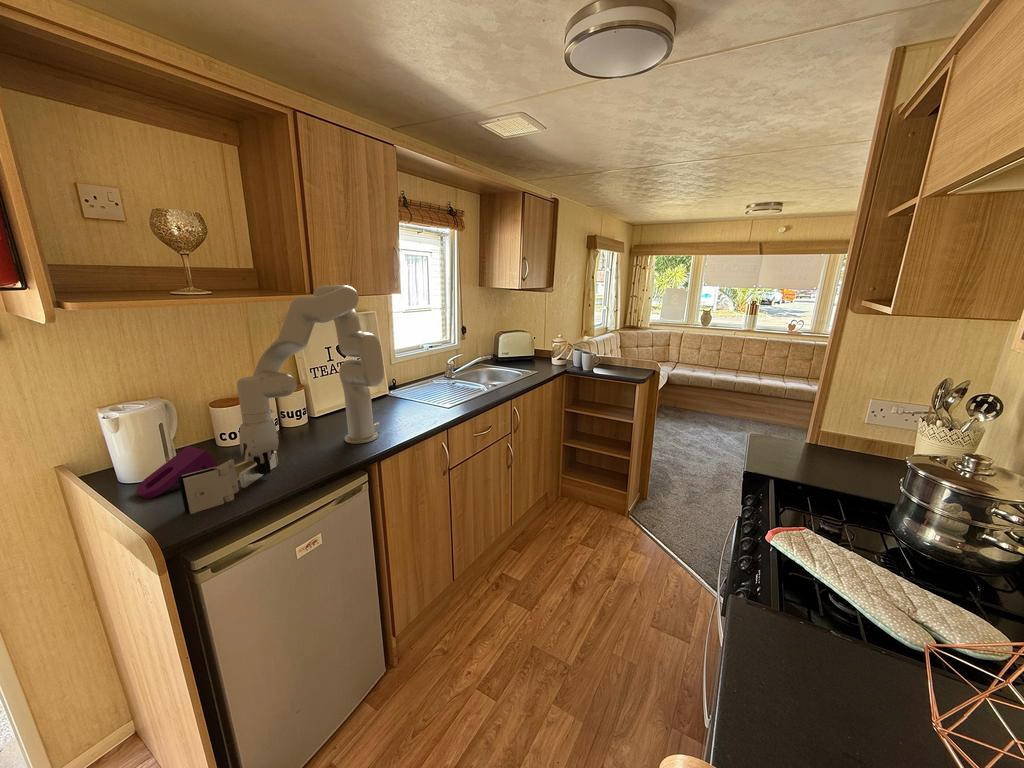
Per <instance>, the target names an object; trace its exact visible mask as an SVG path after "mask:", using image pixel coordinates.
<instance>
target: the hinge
mask: <svg viewBox="0 0 1024 768" xmlns="http://www.w3.org/2000/svg"><path fill="white" fill-rule="evenodd" d="M235 465H236V464H235V459H233V458H232V459H229V460H226V461H225V462H223V463H221V464H219V465H217V466H216V467H212V468H209V469H205V470H201V471H197V472H193V473H189V474H185V475H182V476H181V477H178V480H179V481H178V486H179V489H180V494H181V498H182V503H183V507H184V512H185V514H186V515H188V514H191V515H193V514H195V513H198V512H201V511H205V510H207V509H211V508H215V507H218V506H221V505H224V504H225V503H228V502H229V503H230V502H231V501H234V500H235V496H234V495H236V494H237V493H238V492H239V491H240V487H239V483H238V482H239V481H237V476H236V470H235Z"/></svg>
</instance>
